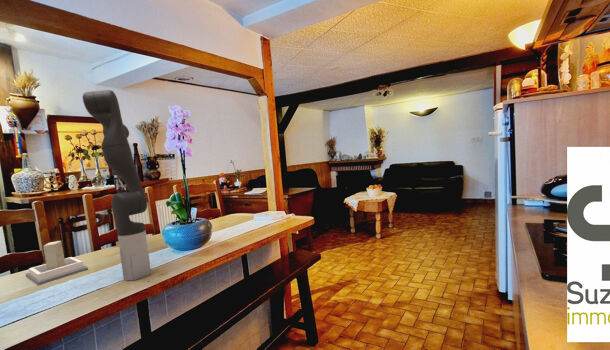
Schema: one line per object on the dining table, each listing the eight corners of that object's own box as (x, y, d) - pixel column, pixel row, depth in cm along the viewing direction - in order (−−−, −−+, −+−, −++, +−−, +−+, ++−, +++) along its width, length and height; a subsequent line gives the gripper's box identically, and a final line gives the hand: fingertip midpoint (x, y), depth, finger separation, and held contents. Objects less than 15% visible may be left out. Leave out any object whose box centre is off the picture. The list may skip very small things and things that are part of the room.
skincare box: (60, 271, 118) (56, 243, 117) (46, 274, 116) (42, 245, 115) (65, 266, 123) (62, 240, 123) (53, 269, 122) (49, 242, 121)
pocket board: (88, 269, 120) (86, 261, 120) (38, 285, 107) (36, 276, 107) (72, 262, 132) (71, 255, 132) (25, 276, 119) (24, 268, 118)
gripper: (106, 166, 140) (110, 198, 141) (118, 165, 132) (122, 198, 133) (122, 165, 146) (126, 195, 147) (135, 164, 138) (139, 196, 139)
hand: (124, 197), depth 140 cm, fingers open, 8 cm apart
